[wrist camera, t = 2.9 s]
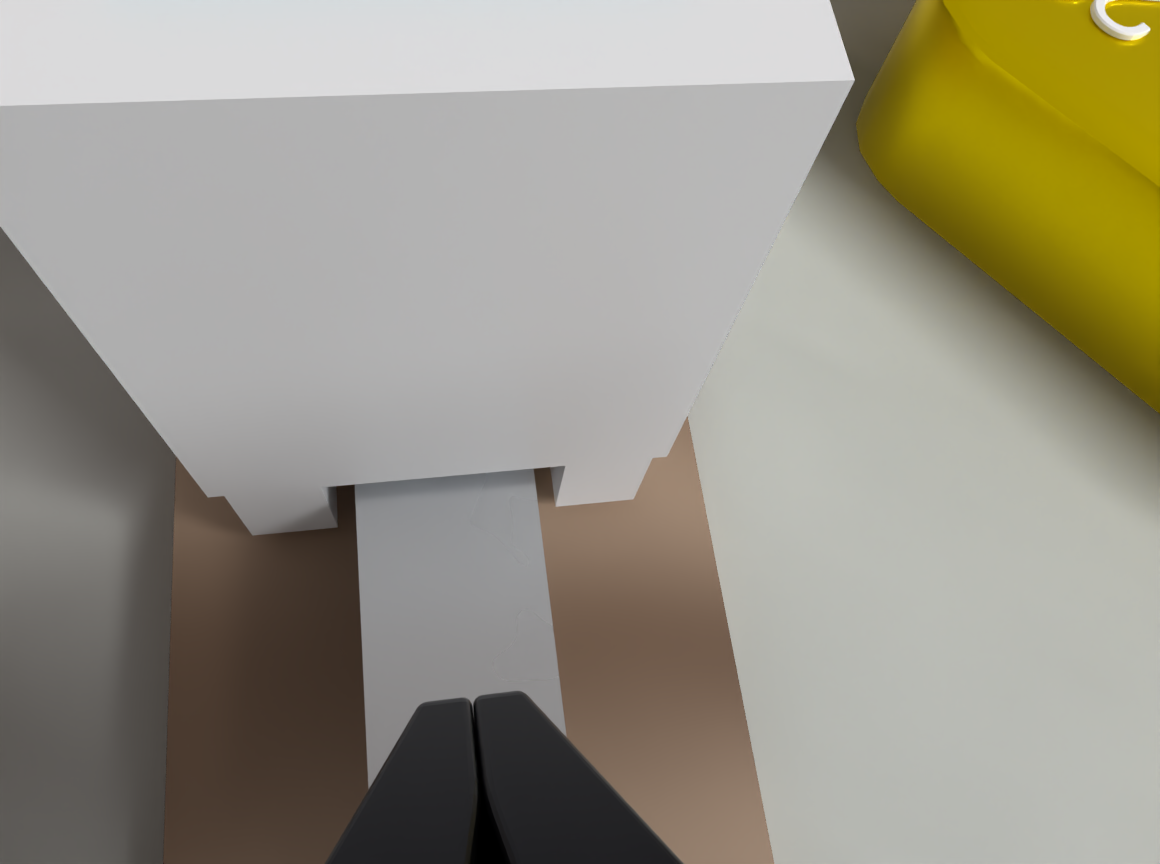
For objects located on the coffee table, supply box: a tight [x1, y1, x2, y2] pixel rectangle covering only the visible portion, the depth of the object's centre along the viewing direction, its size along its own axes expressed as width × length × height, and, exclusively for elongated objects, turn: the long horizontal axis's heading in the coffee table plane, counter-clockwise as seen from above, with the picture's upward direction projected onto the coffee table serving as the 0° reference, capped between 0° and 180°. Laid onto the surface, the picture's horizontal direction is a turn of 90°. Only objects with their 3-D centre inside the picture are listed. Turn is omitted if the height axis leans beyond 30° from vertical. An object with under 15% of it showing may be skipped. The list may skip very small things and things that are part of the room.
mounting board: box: [163, 417, 774, 864], centre depth 16 cm, size 22×8×1 cm, turn 7°
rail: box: [355, 469, 567, 789], centre depth 14 cm, size 20×7×5 cm, turn 7°
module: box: [0, 0, 855, 536], centre depth 11 cm, size 5×6×9 cm
